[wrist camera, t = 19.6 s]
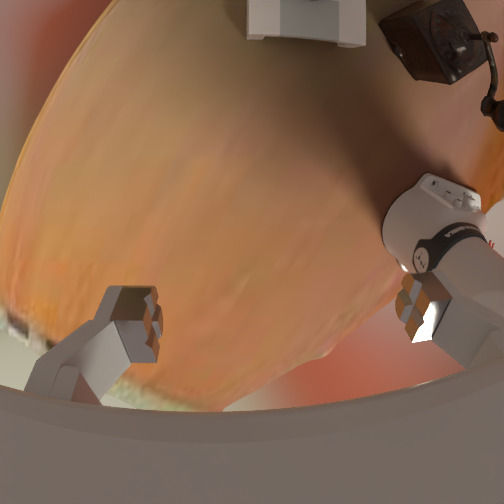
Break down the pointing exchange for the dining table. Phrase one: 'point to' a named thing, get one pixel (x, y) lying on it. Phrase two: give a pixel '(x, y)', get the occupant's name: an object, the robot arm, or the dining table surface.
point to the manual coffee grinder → (443, 46)
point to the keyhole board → (270, 21)
